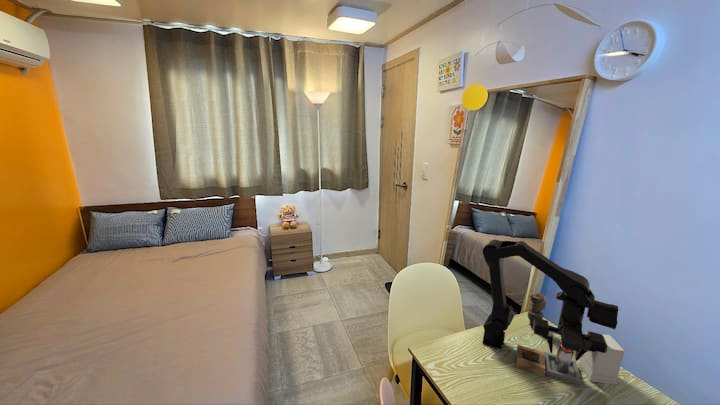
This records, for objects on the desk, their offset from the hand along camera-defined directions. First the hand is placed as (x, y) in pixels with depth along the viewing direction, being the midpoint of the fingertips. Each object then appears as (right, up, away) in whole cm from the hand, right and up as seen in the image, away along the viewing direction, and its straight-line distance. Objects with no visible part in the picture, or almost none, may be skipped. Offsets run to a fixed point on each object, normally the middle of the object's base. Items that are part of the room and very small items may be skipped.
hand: (563, 356), depth 94 cm
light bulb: (+3, 0, +22) cm, 22 cm away
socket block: (-9, -5, +4) cm, 11 cm away
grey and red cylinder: (0, -5, +1) cm, 5 cm away
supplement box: (+11, -6, 0) cm, 12 cm away
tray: (0, -5, +1) cm, 6 cm away
